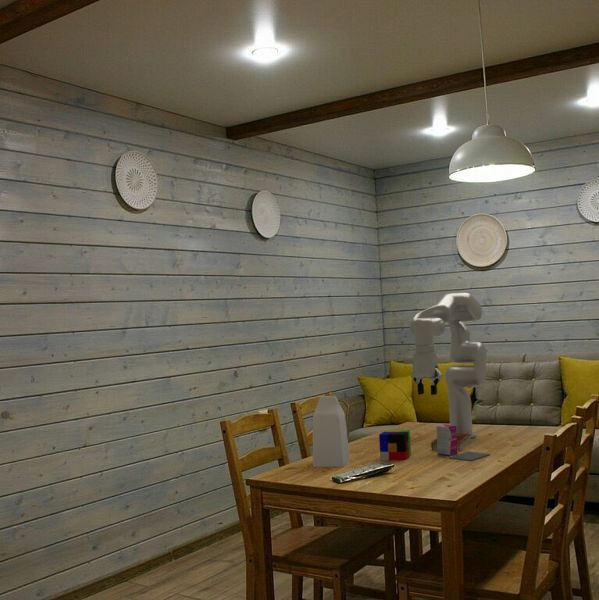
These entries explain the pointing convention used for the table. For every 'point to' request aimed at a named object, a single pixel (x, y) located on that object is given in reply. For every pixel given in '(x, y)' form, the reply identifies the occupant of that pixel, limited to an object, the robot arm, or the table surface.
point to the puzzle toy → (395, 445)
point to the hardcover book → (461, 441)
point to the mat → (469, 456)
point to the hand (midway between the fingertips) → (427, 393)
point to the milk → (329, 434)
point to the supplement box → (446, 440)
